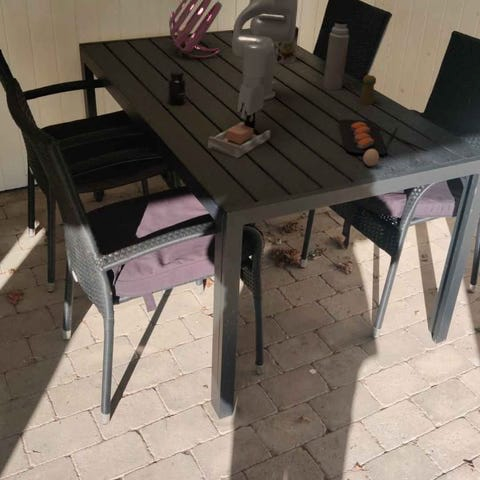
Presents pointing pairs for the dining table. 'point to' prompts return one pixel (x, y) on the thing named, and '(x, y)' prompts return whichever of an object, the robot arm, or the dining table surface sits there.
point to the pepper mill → (367, 90)
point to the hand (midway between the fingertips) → (249, 130)
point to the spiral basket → (189, 26)
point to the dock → (232, 147)
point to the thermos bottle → (336, 55)
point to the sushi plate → (364, 137)
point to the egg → (371, 157)
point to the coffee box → (286, 50)
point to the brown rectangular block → (239, 134)
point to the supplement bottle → (176, 88)
